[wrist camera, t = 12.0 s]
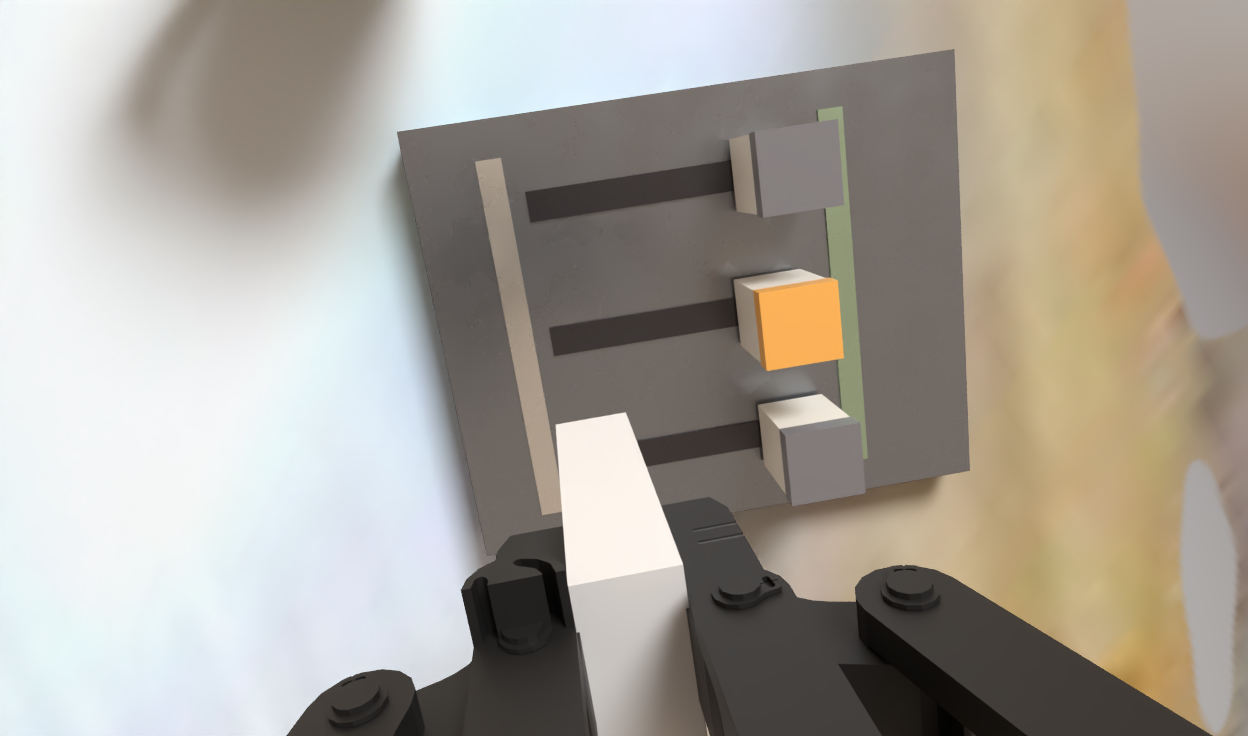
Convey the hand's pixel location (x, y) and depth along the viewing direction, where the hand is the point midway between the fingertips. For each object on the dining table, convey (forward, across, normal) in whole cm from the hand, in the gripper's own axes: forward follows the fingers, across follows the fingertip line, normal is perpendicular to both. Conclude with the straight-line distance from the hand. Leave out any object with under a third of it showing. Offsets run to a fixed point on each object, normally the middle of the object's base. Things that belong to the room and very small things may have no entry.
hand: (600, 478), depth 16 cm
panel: (+18, +6, 0) cm, 19 cm away
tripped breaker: (+15, +8, 0) cm, 18 cm away
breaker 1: (+15, +9, +5) cm, 18 cm away
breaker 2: (+15, +9, -6) cm, 19 cm away
